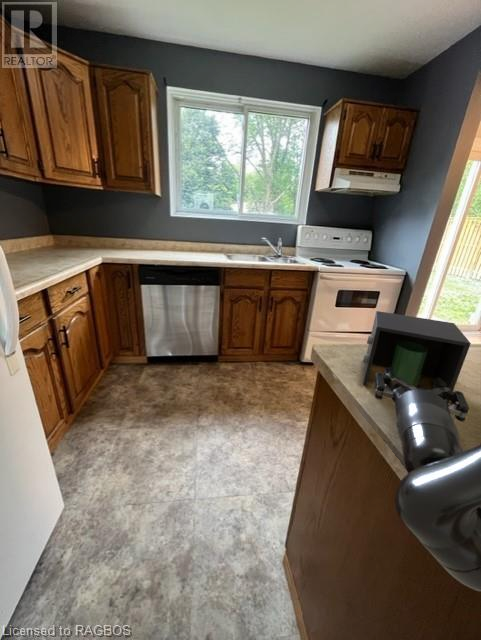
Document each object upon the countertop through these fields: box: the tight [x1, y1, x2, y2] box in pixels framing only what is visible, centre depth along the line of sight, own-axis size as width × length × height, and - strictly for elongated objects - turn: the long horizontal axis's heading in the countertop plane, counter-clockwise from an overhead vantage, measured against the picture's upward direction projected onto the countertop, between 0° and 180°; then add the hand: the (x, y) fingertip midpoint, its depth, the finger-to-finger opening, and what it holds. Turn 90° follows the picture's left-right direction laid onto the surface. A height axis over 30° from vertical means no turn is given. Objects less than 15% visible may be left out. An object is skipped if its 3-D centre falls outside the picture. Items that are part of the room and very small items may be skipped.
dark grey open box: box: [362, 310, 472, 404], centre depth 64 cm, size 18×13×15 cm
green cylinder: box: [390, 341, 428, 387], centre depth 63 cm, size 6×6×10 cm
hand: (412, 375), depth 56 cm, fingers open, 8 cm apart
